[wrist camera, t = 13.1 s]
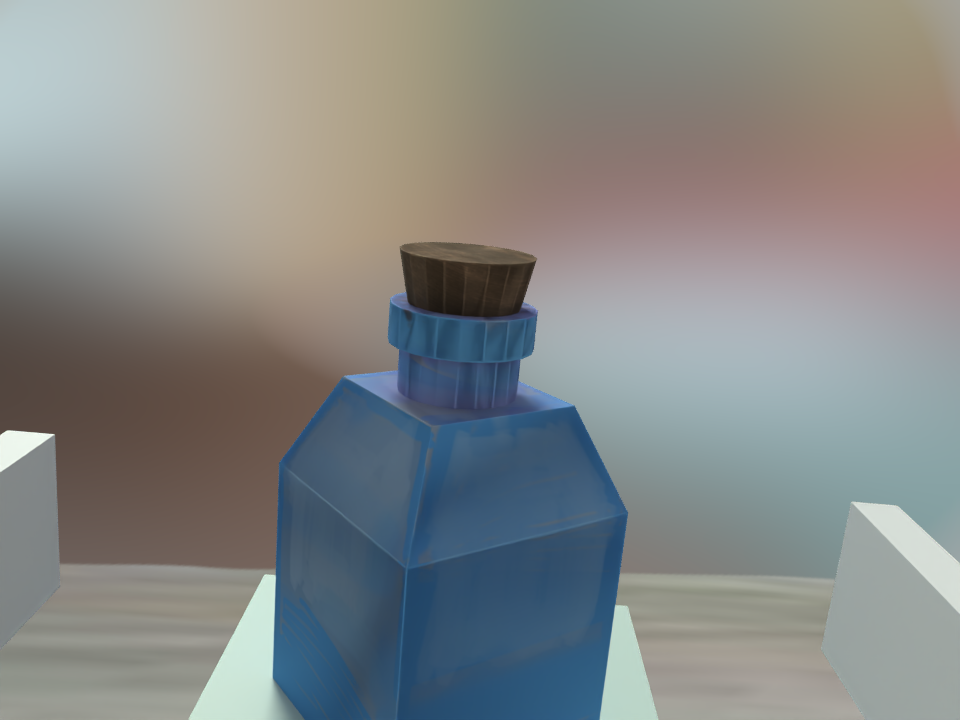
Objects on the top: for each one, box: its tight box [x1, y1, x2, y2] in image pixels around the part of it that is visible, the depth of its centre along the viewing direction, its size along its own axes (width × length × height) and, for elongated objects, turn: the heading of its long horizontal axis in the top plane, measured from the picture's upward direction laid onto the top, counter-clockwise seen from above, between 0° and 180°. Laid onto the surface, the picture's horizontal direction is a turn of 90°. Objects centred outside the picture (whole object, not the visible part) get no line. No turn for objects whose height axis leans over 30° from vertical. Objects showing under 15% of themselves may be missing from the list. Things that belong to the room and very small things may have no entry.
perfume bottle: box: [273, 242, 628, 720], centre depth 22 cm, size 6×6×12 cm
